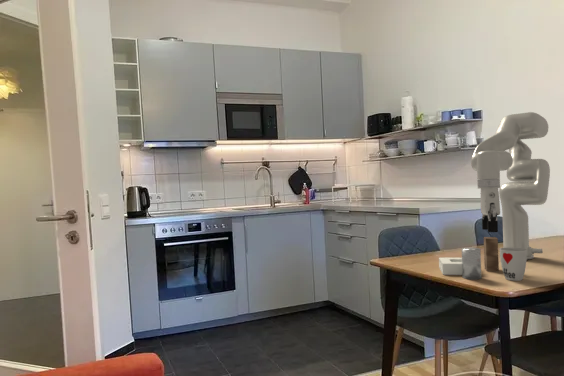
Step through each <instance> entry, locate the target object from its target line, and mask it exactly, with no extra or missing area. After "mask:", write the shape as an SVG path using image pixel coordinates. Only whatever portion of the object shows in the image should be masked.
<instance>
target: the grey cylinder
mask: <svg viewBox="0 0 564 376" xmlns="http://www.w3.org/2000/svg"><path fill="white" fill-rule="evenodd" d="M481 254H482V253H481V248H478V247H462V248H461V258H462V275H461V276H462V279H465V280H471V281H474V280H475V281H476V280H477V281H478V280H481V279H482V257H481V256H482V255H481Z"/></svg>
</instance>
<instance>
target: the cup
mask: <svg viewBox="0 0 564 376" xmlns="http://www.w3.org/2000/svg"><path fill="white" fill-rule="evenodd" d="M499 258H500V264H501V269H502V273H503V275H504V279H506V280H508V281H514V282H516V281H517V282H518V281H519V282H520V281H523V278H524V275H525V272H526V267H527V260H528V259H527V250H526V249H523V248H511V247H508V248H503V247H500V248H499ZM526 259H527V260H526Z"/></svg>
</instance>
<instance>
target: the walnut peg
mask: <svg viewBox="0 0 564 376" xmlns="http://www.w3.org/2000/svg"><path fill="white" fill-rule="evenodd" d="M483 255H484V256H483V259H484V260H483V261H484V262H483V263H484V270H485V271H486V272H499V270H500V267H499V262H500V261H499V239H498V238H497V237H496V236H484V237H483Z"/></svg>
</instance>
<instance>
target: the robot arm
mask: <svg viewBox="0 0 564 376" xmlns="http://www.w3.org/2000/svg"><path fill="white" fill-rule="evenodd" d="M548 132H549V123H548V121H547V119H546V117H544V116H542V115H541V114H539V113H537V112H532V111H529V112H522V113H514V114H512V113H511V114H508V115H506V116H503V118H502V119H501V121H500V123H499V125H498V126H497V129H496V131H495V133H494V134H493V135H491V136H489V137H488V138H486V139H485V140H483V141H481V142H480V143H479V144H477V145H476V148H475V149H474V151H473V154H472V156H471V158H470V164H471V168H472V169H473V170H474V171H476V175H477V177H476V178H477V179H476V181H477V182H476V183H477V189H480V211H481V214H482V215H481V228H482V230H483V231H484V230H486V231H487V232H488V233H498V232H499V231H498V230H499V228H498V224H499V222H498V216H499V215H501V213H502V239H503V240H502V242H503V243H502V244H503V245H502V246H503V247H502V248H508V247H511V248H523V249H526V250H527V259H526V261H527V260H531V259H534V258H535V256H534V254H543V248H537V247H535V248H533V247H532V246H530V231H529V229H530V228H529V215H528V212H527V211H526V209H525V208H523V206H540V205H541V206H542V205H544V204H545V203H546V202H547V200H548V194H549V186H550V178H551V177H550V174H551V167H550V164H549V162H548V161H547V160H546V159H544V158H532V154H533V153H532V152H533V151H532V150H531V148H530V147H529V145H527V144H526V143H525V142H524V141H522V140H530V139H541V138H544V137H546V136H547V135H548ZM507 150H508V151H507ZM500 171H501V172H502V171H503V172H504V171H506V177H507V180H508V182H506V183H503V184H502V185H501V175H500V173H501V172H500ZM509 181H510V182H509Z"/></svg>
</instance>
